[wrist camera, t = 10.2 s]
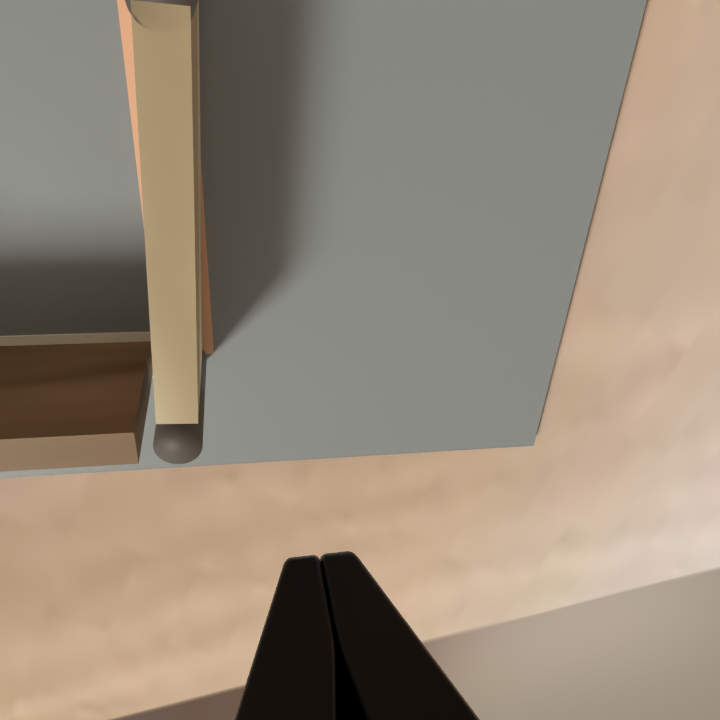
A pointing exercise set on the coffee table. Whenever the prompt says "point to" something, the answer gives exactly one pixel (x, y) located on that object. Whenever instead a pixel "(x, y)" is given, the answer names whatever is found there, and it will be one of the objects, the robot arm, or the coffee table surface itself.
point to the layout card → (323, 209)
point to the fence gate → (172, 216)
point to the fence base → (73, 404)
